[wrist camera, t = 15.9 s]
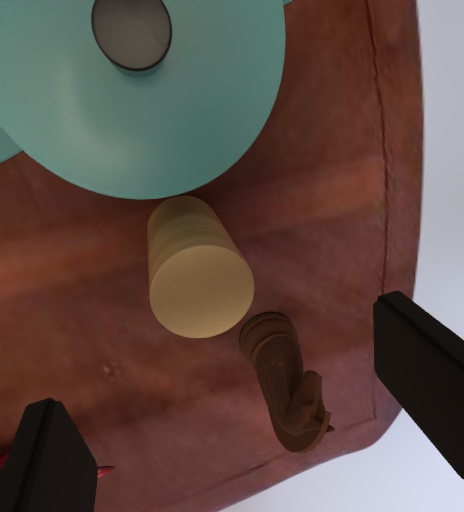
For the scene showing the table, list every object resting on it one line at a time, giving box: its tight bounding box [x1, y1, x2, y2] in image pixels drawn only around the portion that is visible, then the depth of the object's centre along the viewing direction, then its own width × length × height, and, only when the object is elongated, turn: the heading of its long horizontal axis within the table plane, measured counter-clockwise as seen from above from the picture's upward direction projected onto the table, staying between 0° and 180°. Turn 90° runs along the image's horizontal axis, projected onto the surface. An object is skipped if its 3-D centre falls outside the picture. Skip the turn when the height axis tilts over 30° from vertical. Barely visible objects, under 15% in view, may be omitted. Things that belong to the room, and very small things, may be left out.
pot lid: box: [0, 0, 286, 200], centre depth 12 cm, size 11×11×4 cm
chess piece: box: [240, 313, 335, 454], centre depth 25 cm, size 5×5×10 cm
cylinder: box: [147, 195, 254, 338], centre depth 20 cm, size 5×5×9 cm
